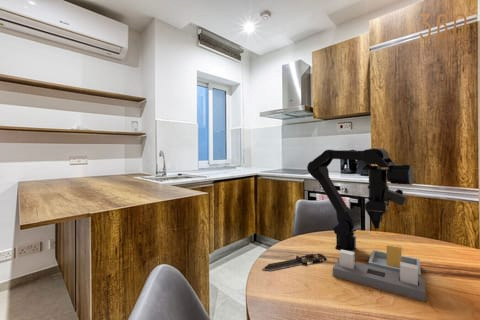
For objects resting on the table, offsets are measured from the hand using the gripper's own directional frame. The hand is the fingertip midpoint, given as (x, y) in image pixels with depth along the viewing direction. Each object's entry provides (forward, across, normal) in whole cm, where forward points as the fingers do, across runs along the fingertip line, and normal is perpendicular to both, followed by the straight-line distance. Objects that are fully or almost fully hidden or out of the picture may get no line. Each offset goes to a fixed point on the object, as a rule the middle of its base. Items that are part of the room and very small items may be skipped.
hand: (378, 225), depth 84 cm
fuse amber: (+11, -6, -5) cm, 14 cm away
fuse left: (+12, -18, +7) cm, 23 cm away
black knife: (+13, -21, +24) cm, 34 cm away
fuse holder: (+12, -18, -1) cm, 22 cm away
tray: (+12, -6, -5) cm, 14 cm away
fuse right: (+12, -18, -9) cm, 23 cm away
